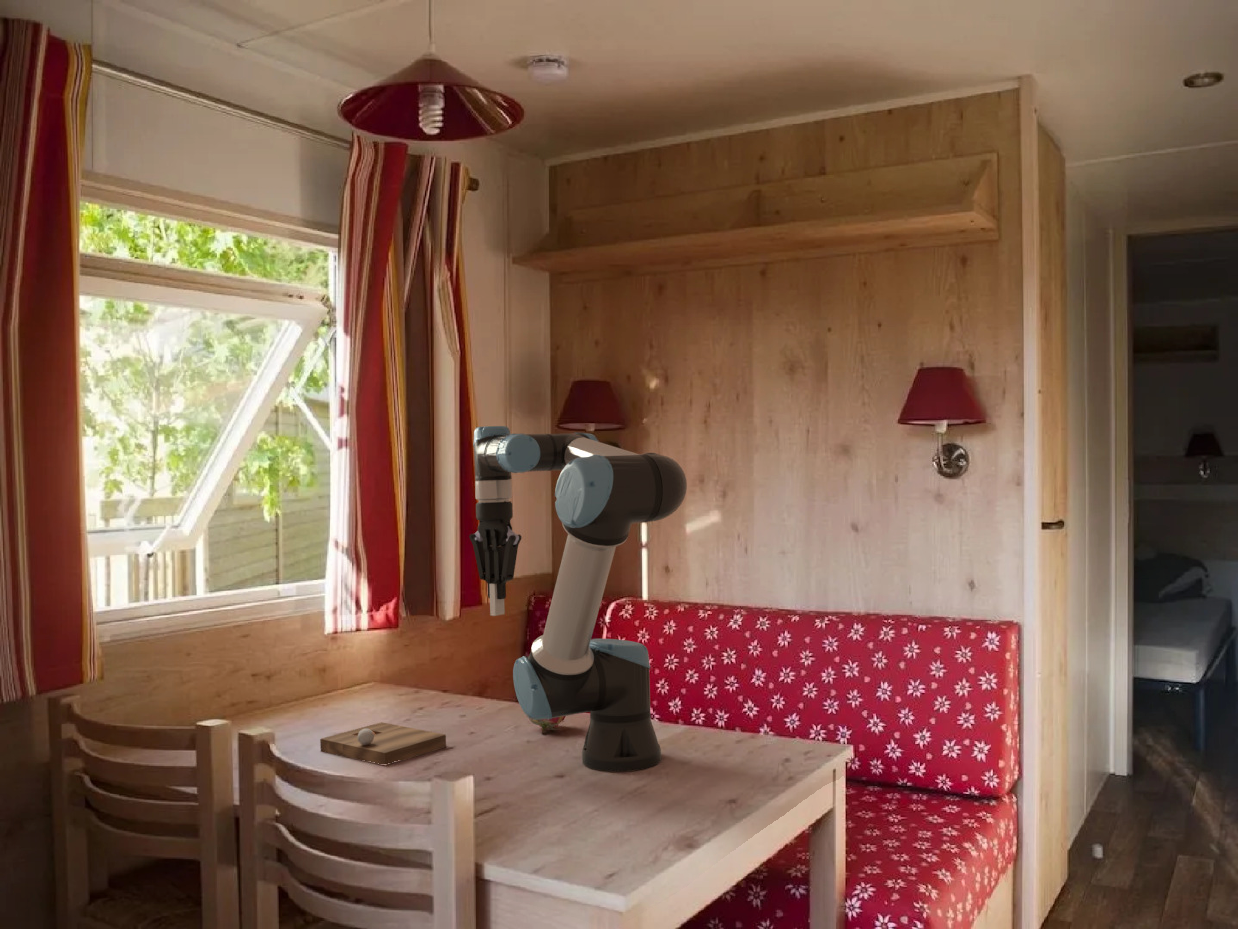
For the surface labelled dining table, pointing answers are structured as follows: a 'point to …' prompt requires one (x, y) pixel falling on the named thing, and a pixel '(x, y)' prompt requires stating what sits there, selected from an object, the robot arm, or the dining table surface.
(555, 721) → the flower
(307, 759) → the dining table surface
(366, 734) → the grey ball
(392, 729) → the board
